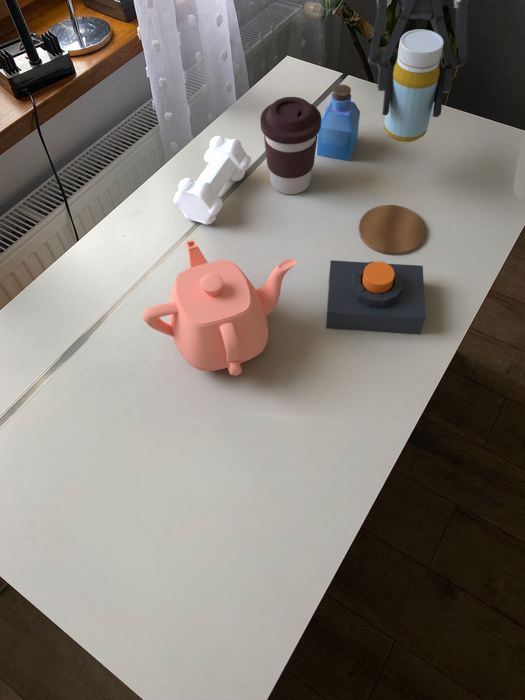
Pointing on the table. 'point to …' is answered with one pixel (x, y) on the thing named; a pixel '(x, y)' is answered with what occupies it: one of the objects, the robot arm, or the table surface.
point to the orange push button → (378, 277)
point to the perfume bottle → (339, 125)
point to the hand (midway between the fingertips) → (411, 114)
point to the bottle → (414, 85)
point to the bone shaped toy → (212, 180)
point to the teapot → (217, 312)
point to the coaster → (392, 230)
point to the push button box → (375, 300)
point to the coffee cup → (290, 142)
